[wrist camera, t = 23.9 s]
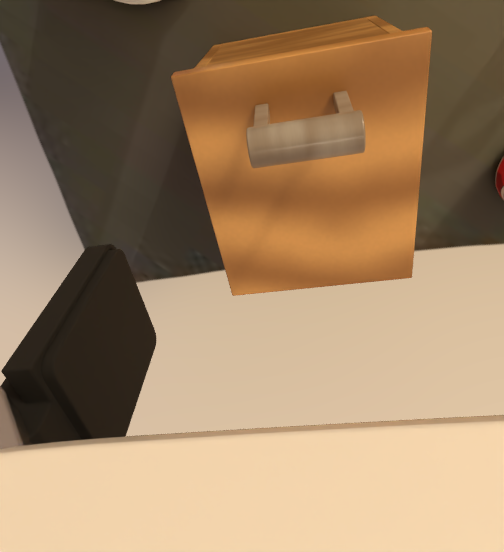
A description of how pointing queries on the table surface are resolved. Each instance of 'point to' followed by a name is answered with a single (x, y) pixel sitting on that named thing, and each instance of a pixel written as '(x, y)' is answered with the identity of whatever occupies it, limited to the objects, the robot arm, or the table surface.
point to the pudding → (137, 1)
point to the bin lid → (312, 160)
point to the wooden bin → (297, 40)
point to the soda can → (500, 178)
